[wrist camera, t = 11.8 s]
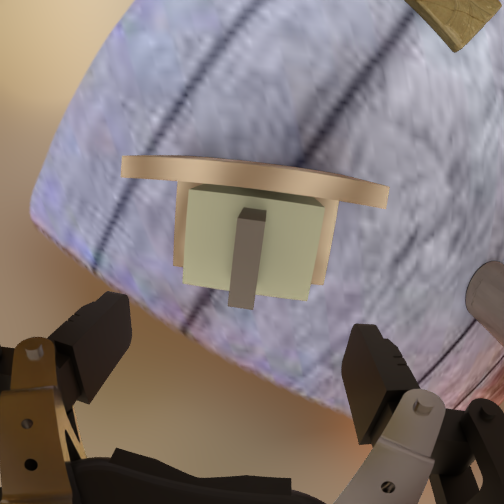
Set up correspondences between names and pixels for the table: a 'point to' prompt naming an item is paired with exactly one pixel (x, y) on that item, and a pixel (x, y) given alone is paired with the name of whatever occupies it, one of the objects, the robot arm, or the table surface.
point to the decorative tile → (456, 18)
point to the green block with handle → (251, 242)
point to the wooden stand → (256, 177)
